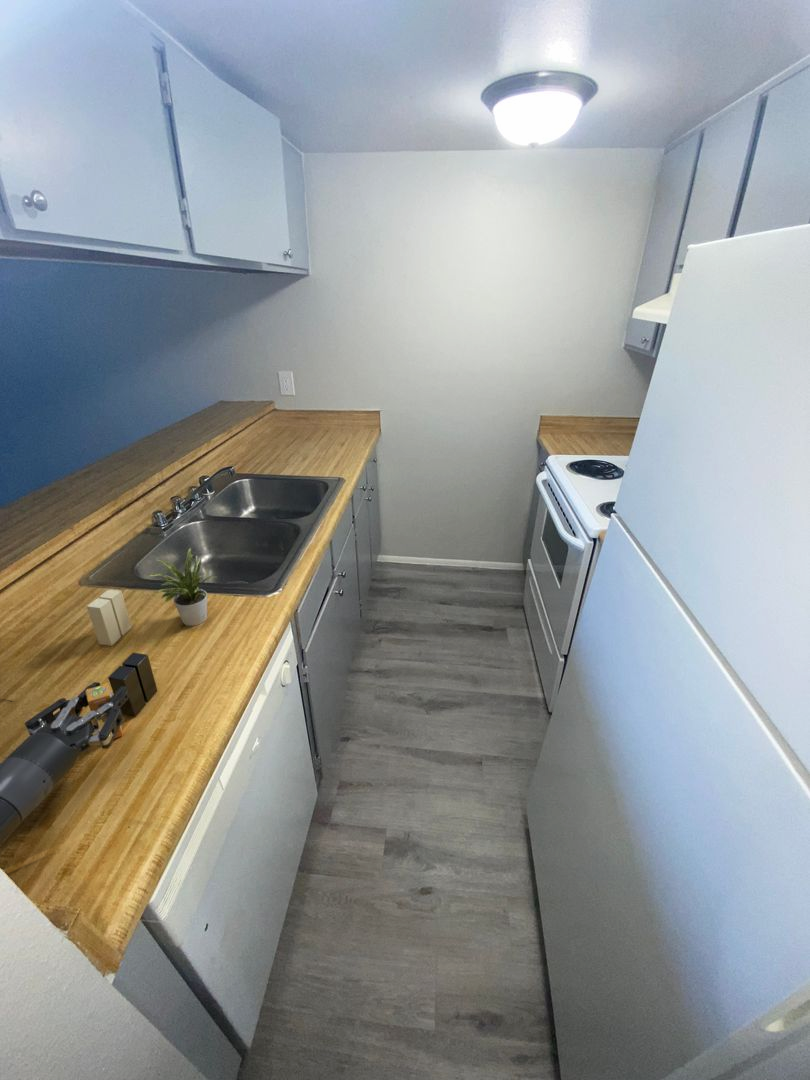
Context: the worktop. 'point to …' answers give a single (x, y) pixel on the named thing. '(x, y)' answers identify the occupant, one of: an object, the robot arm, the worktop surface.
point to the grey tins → (134, 683)
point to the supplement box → (100, 700)
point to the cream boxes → (109, 617)
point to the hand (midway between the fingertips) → (111, 688)
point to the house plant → (186, 592)
